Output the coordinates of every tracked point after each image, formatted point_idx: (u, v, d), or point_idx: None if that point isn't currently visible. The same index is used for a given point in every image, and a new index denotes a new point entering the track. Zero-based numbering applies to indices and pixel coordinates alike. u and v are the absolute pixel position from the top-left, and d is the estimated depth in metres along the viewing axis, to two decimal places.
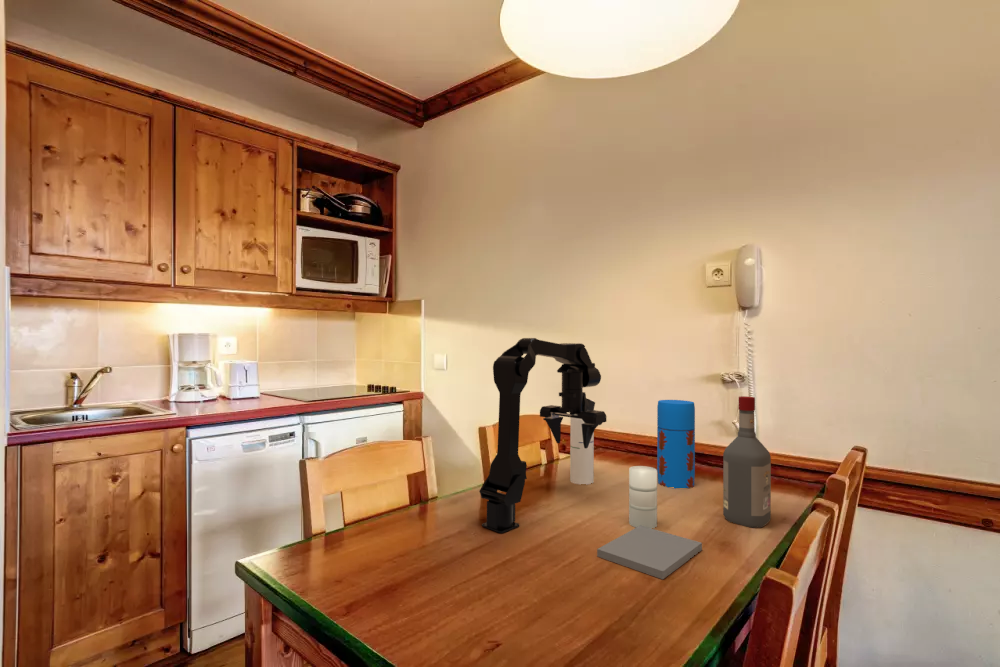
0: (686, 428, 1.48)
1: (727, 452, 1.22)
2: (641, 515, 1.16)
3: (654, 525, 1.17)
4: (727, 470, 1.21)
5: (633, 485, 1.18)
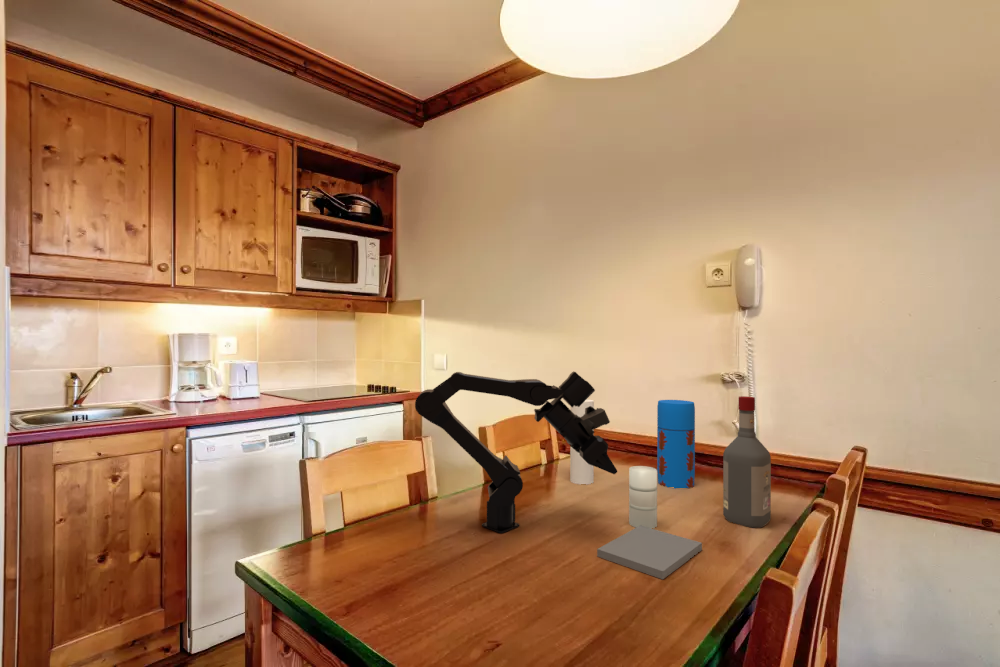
0: (686, 428, 1.48)
1: (727, 452, 1.22)
2: (641, 515, 1.16)
3: (654, 525, 1.17)
4: (727, 470, 1.21)
5: (633, 485, 1.18)
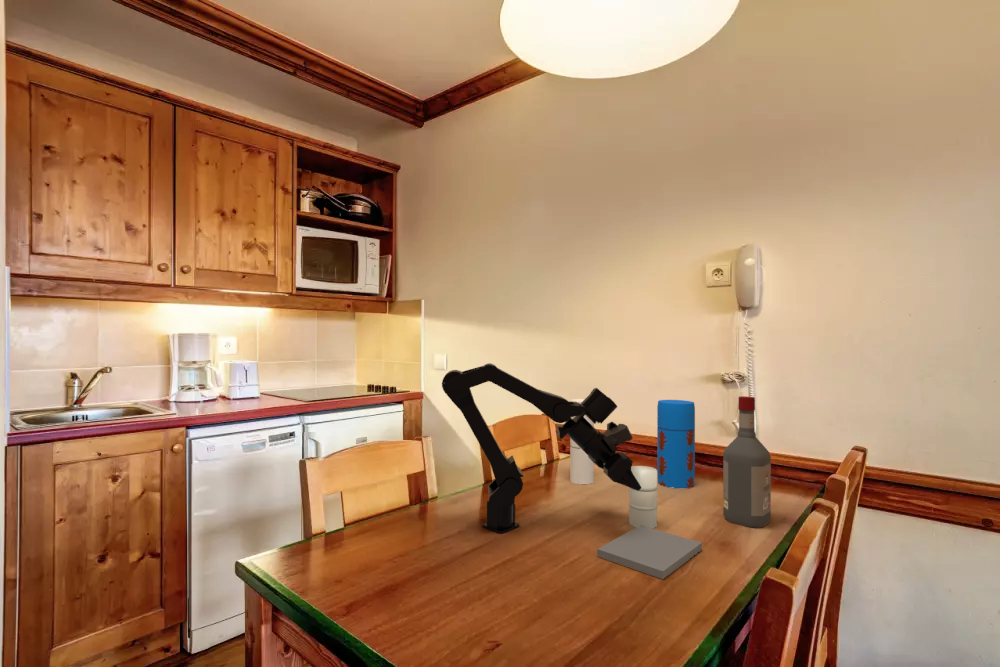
0: (686, 428, 1.48)
1: (727, 452, 1.22)
2: (641, 515, 1.16)
3: (654, 525, 1.17)
4: (727, 470, 1.21)
5: None
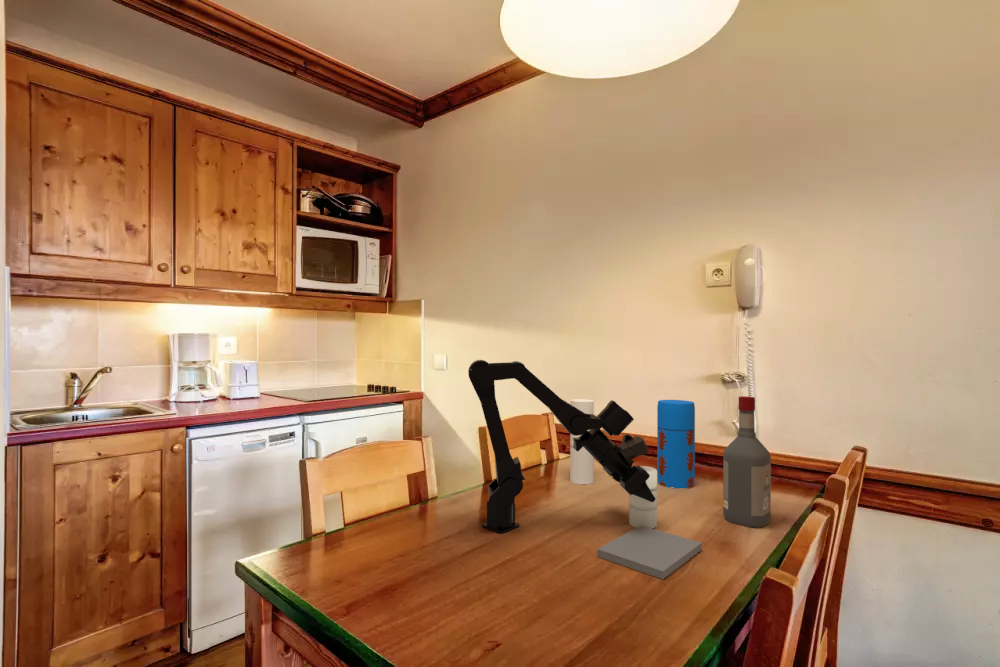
0: (686, 428, 1.48)
1: (727, 452, 1.22)
2: (641, 515, 1.16)
3: (654, 525, 1.17)
4: (727, 470, 1.21)
5: None
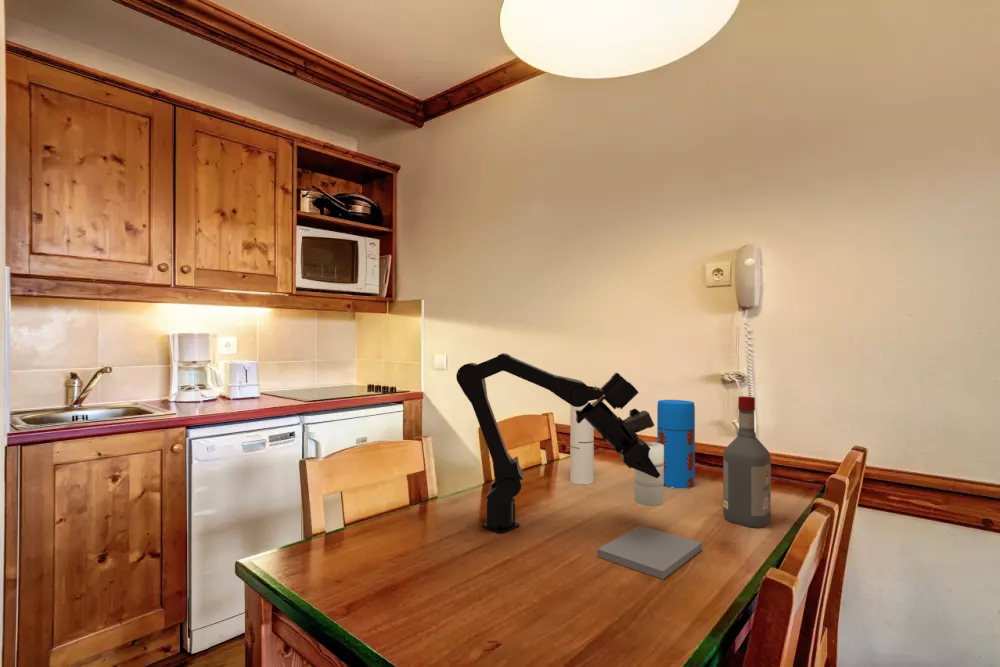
0: (686, 428, 1.48)
1: (727, 452, 1.22)
2: (645, 491, 1.12)
3: (659, 502, 1.12)
4: (727, 470, 1.21)
5: None
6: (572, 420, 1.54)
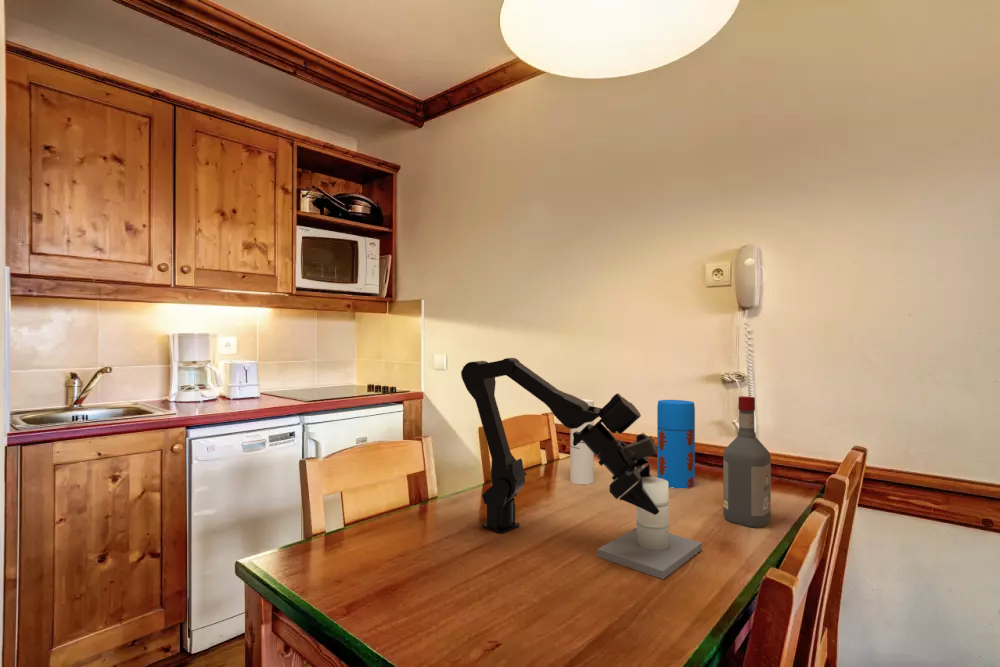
0: (686, 428, 1.48)
1: (727, 452, 1.22)
2: (643, 533, 1.02)
3: (660, 547, 1.01)
4: (727, 470, 1.21)
5: None
6: None
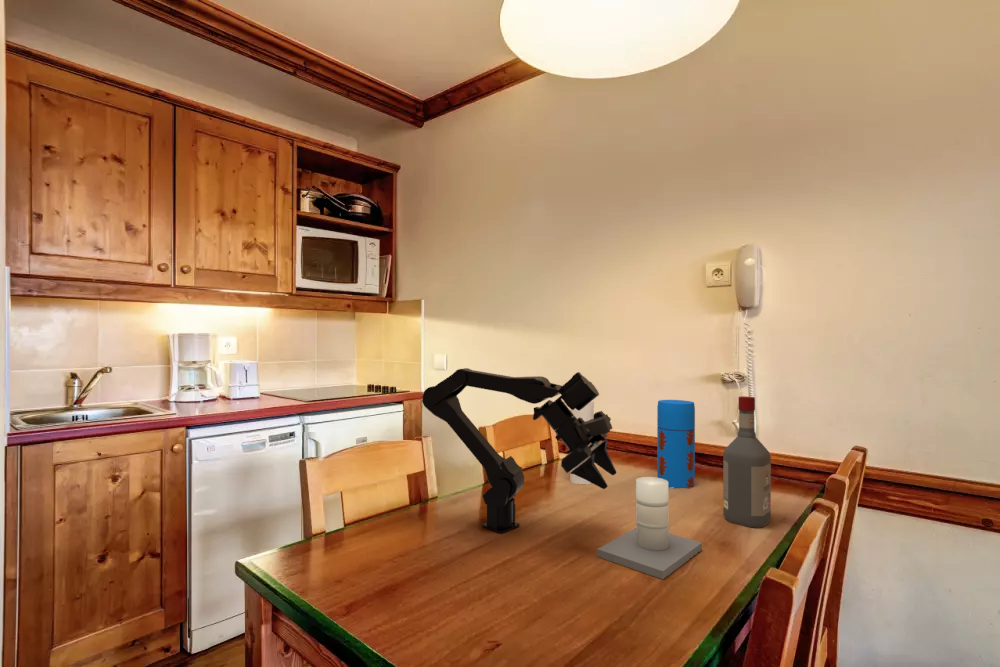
0: (686, 428, 1.48)
1: (727, 452, 1.22)
2: (643, 533, 1.02)
3: (660, 547, 1.01)
4: (727, 470, 1.21)
5: (637, 497, 1.04)
6: None
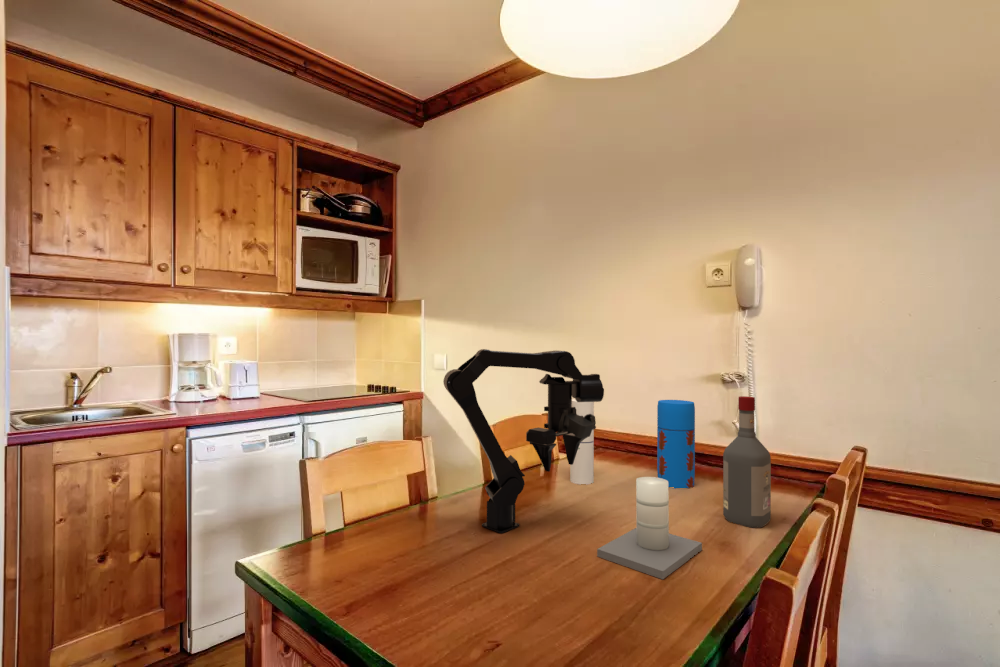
0: (686, 428, 1.48)
1: (727, 452, 1.22)
2: (643, 532, 1.02)
3: (660, 547, 1.01)
4: (727, 470, 1.21)
5: (637, 497, 1.04)
6: None
